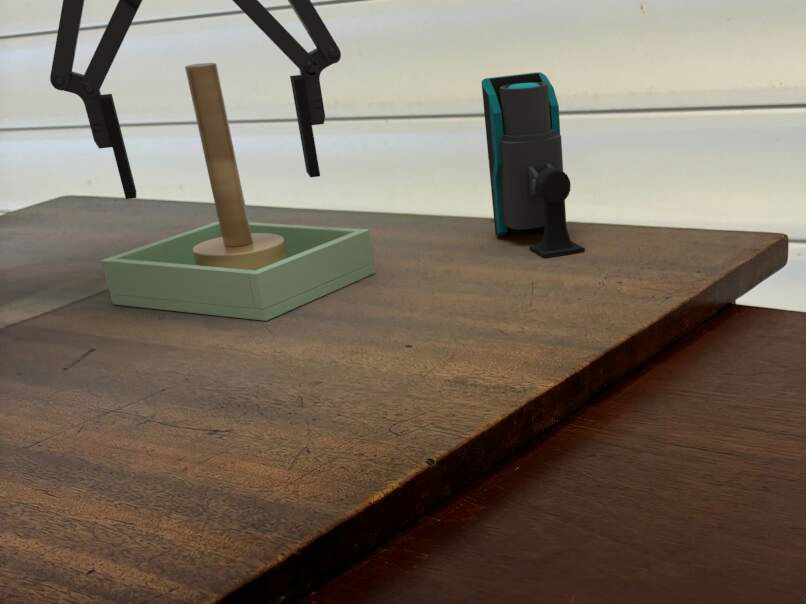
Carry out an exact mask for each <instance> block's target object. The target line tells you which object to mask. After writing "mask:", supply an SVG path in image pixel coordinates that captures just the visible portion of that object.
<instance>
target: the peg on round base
mask: <svg viewBox="0 0 806 604" xmlns="http://www.w3.org/2000/svg"><path fill="white" fill-rule="evenodd" d="M184 69H185V74H186V78H187V79H186V80H187V83H188V87H189V91H190V97H191V101H192V107H193V111H194V114H195V115H194V116H195V120H196V125H197V128H198V133H199V138H200V143H201V147H202V151H203V156H204V160H205V164H206V170H207V174H208V179H209V184H210V187H211V193H212V197H213V202H214V206H215V211H216V215H217V221H219V225H220V229H221V234H222V237H219V238H214V239H211V240H207V241H205V242H202V243H200V244H198V245H196V246H195V247H194V248H193V254H194V259H195V263H196V265H198V266H210V267H221V268H233V269H245V270H258V269H260V268H263V267H266V266H268V265H271V264H273V263H276V262H278V261H281V260H284V259H286V258H288V257H287V252H286V246H285V241H284V238H283V237H282V236H280V235H276V234H270V233H251V231H250V226H249V222H250V221H249V215H248V212H247V207H246V203H245V197H244V192H243V188H242V187H243V186H242V183H241V178H240V172H239V167H238V164H237V163H238V162H237V158H236V153H235V149H234V142H233V139H232V133H231V128H230V124H229V118H228V115H227V109H226V104H225V99H224V95H223V90H222V83H221V80H220V75H219V71H218V66H217V63H216V62H204V63H203V62H202V63H201V62H200V63H193V64H187V65H185V66H184Z"/></svg>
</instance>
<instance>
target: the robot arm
mask: <svg viewBox="0 0 806 604" xmlns="http://www.w3.org/2000/svg"><path fill="white" fill-rule="evenodd" d="M142 2H143V0H118V2H117V4H116V6H115V8H114V11H113V13H112V15H111V17H110V19H109V21H108V23H107V24H106V28H105V29H104V32H103V33H102V36H101V38H100V40H99V42H98V44H97V46H96V49H95V51H94V53H93V55H92V57H91V59H90V62H89V64H88V66H87V68H86V70H85V72H84V74H82V73H79V72H75V71H73V68H74V62H75V57H76V52H77V44H78V39H79V35H80V30H81V29H80V28H81V24H82V23H81V22H82V17H83V11H84V7H85V0H62V4H61V5H62V6H61V12H60V17H59V22H58V29H57V35H56V39H55V46H54V52H53V57H52V64H51V70H50V75H49V81H50V83H51V86H52V87H53V88H54V89H55V90H58V91H63V92H67V93H71V94H74V95H76V96H78V97H79V98H80V99H81V100H82V102H83V104H84V108H85V111H86V116H87V120H88V123H89V127H90V131H91V134H92V139H93V141H94V144H96V146H97V148H98V149H99V150H100V149H108V148H112V150H113V156H114V158H115V159H114V160H115V162H116V163H115V164H116V166H117V170H118V174H119V177H120V183H121V186H122V189H123V193H124V198H125V200H131V199H137V189H136V185H135V181H134V176H133V173H132V168H131V165H130V161H129V156H128V152H127V149H126V145H125V141H124V137H123V133H122V132H123V131H122V129H121V125H120V120H119V117H118V113H117V109H116V106H115V101H114V97H113V93H105V94H102V93H101V92H102V91H101V88H102V86H103V83H104V82H105V80H106V78H107V76H108V74H109V72H110V69H111V67H112V65H113V62H114V61H115V58H116V57H117V54H118V52H119V50H120V48H121V46H122V44H123V42H124V40H125V38H126V35H127V33H128V31H129V29H130V27H131V25H132V23H133V21H134V18H135V16H136V14H137V12H138V11H139V8H140V6H141V4H142ZM232 2H233V3H234V4H235V5H236V6H237V7H238V8H239V9H240V10H241V11H242V12H243V13H244V14H245V16H247V17H248V18H249V19H250V21H252V22H253V23H254V24H255V25H256V26H257V27H258V28H259V30H261V31H262V32H263V34H265V36H266V37H268V39H269V40H270V41H271V42H272V43H273V44H274V45H275V46H276V47H277V48H278V49H279V50H280V51H281V52H282V53H283V54H284V55H285V56H286V57H287V58H288V59H289V60H290V61H291V62H292V63H293V64H294V66H295V67H296V68H298V69H299V74H296V75H289V79H290V84H291V90H292V96H293V102H294V108H295V112H296V119H297V125H298V130H299V137H300V142H301V148H302V154H303V159H304V166H305V171H306V173H307V175H308V176H309V177H310V178H319V177H321V173H320V167H319V166H320V165H319V160H318V154H317V148H316V142H315V135H314V129H313V126H319V125H324V124H325V120H326V113H325V107H324V99H323V94H322V88H321V81H320V78H321V77H320V76H321V74H322V72H323V70H325V69H327V68H328V67H330V66H332V65H333V64H337V63H339V62H340V61H341V57H342V52H341V50H340V47H339V46H338V44H337V43H336V41H335V39H334V38H333V36H332V34H331V32H330V31H329V29H328V27H327V26H326V24H325V23H324V21H323V19H322V18H321V16H320V14H319V13H318V10H317V9H316V8H315V6H314V4H313V3H312V1H311V0H287V2H288V4H289V5H290V7H291V9H292V10H293V12H294V13H295V15H296V17H297V18H298V19H299V21H300V23H301V24H302V26H303V28H304V29H305V31H306V33H307V34H308V36H309V38H310V39H311V41H312V43H313V44H314V46H315V48H314V49H312V50H310V51H309V52H308V51H307V50H306V49H305V48H304V47H303V46H302V45H301V44H300V43H299V42H298V41H297V39H295V37H294V36H292V34H291V33H290V32H289V31H288V30H287V29H286V28H285V27H284V26H283V25H282V24H281V22H279V21H278V20H277V19H276V17H274V15H272V14H271V12H270V11H269V10H268V9H267V8H266V7H265V6H264V5H263V4H262V2H260V1H259V0H232Z"/></svg>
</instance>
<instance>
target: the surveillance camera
mask: <svg viewBox="0 0 806 604" xmlns="http://www.w3.org/2000/svg"><path fill="white" fill-rule="evenodd" d="M481 91H482V103H483V104H482V105H483V114H484V124H485V134H486V135H485V136H486V146H487V158H488V168H489V179H490V189H491V190H490V191H491V203H492V212H493V222H494V232H495V233H494V235H495V236H497V237H508V236H509V235H510V236H514V235H515V234H516V235H521V234H520V233H523V234H528V233H536V232H542V231H543V235H542V241H541V243H539V244H534V245H529V246H528V249H529V250H530V251H531V252H533V253H535V254H537V255H539V256H540V257H541V258H544V259H547V258H551V257H558V256H563V255H571V254H577V253H584V252H586V251H585V250H586V249H585V247H583V246H581V245H579V244H578V243H576V242H574V241H572V240H571V237H570V234H569V231H568V227H567V213H566V212H567V211H566V200H567V198H568V196H570V192H571V188H572V187H571V186H572V185H571V180H570V178H569V175H568V174H567V173H565V171H564V162H563V161H564V159H563V143H562V142H563V141H562V135H561V123H560V121H561V120H560V105H559V102H558V98H557V95H556V91H555V89H554V86H553V84H552V83H551V81H550V79H549V78H548V77H547V75H545V74H544V73H543V72H539V71H537V72H528V73H520V74H511V75H502V76H494V77H493V76H492V77H487V78H483V79H482V80H481ZM510 236H509V237H510Z"/></svg>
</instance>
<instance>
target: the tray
mask: <svg viewBox="0 0 806 604" xmlns="http://www.w3.org/2000/svg"><path fill="white" fill-rule="evenodd" d="M249 226H250V231H251V233H270V234H276V235H280V236H282V237H283V238H284V241H285V246H286V252H287V257H288V258H286V259H284V260H281V261H278V262H276V263H273V264H271V265H268V266H266V267H263V268H260V269H258V270H245V269H233V268H221V267H210V266H198V265H196V263H195V259H194V254H193V248H194V247H195V246H196V245H198V244H200V243H202V242H205V241H207V240H211V239H214V238H219V237H222V234H221V229H220V225H219V220H217V221H215V222H211V223H208V224H205V225H203V226H200V227H197V228H193V229H191V230H187V231H185V232H181V233H179V234H176V235H173V236H170V237H167V238H164V239H161V240H158V241H154V242H152V243H149V244H146V245H143V246H140V247H136V248H134V249H130V250H128V251H125V252H122V253H119V254H116V255H113V256H109V257H107V258H104V259H101V260H100V263H101V266H102V269H103V274H104V277H105V281H106V285H107V288H108V292H109V294H110V299H111V302H112V303H111V304H112V305H115V306H123V307H124V306H125V307H133V308H143V309H152V310H161V311H171V312H179V313H187V314H188V313H189V314H199V315H209V316H217V317H226V318H235V319H245V320H252V321H253V320H254V321H263V322H268V321H269V320H272V319H274V318H276V317H279V316H281V315H283V314H285V313H288V312H290V311H292V310H294V309H296V308H299V307H301V306H303V305H305V304H308V303H311V302H312V301H315V300H317V299H320V298H322V297H324V296H327V295H329V294H331V293H334V292H335V291H338V290H341V289H342V288H345V287H347V286H350V285H351V284H354V283H356V282H359V281H360V280H362V279H365V278H367V277H370V276H372V275H374V274H376V266H375V260H374V252H373V247H372V239H371V232H370V229H365V228H361V229H360V228H349V227H348V228H347V227H331V226H316V225H301V224H287V223H285V224H283V223H269V222H268V223H267V222H255V221H254V222H252V221H249Z"/></svg>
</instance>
